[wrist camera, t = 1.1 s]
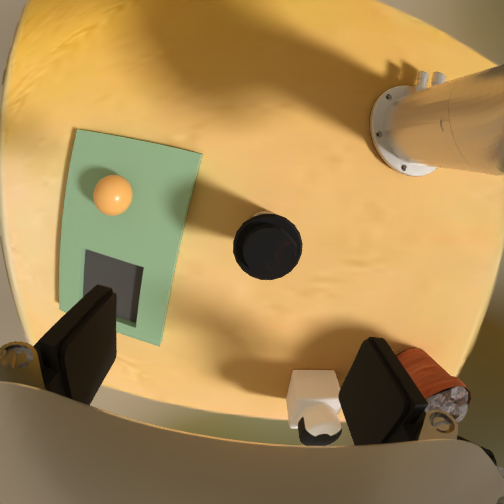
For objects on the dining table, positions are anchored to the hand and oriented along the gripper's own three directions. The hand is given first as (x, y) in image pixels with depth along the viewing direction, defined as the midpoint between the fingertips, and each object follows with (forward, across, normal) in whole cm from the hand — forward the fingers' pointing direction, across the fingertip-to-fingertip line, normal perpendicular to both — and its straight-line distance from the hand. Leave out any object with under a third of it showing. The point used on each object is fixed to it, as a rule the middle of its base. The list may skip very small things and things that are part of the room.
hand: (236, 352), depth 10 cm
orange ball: (+25, +16, 0) cm, 30 cm away
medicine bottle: (+29, -17, +25) cm, 42 cm away
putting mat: (+29, +16, +7) cm, 34 cm away
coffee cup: (+29, -3, +1) cm, 29 cm away
